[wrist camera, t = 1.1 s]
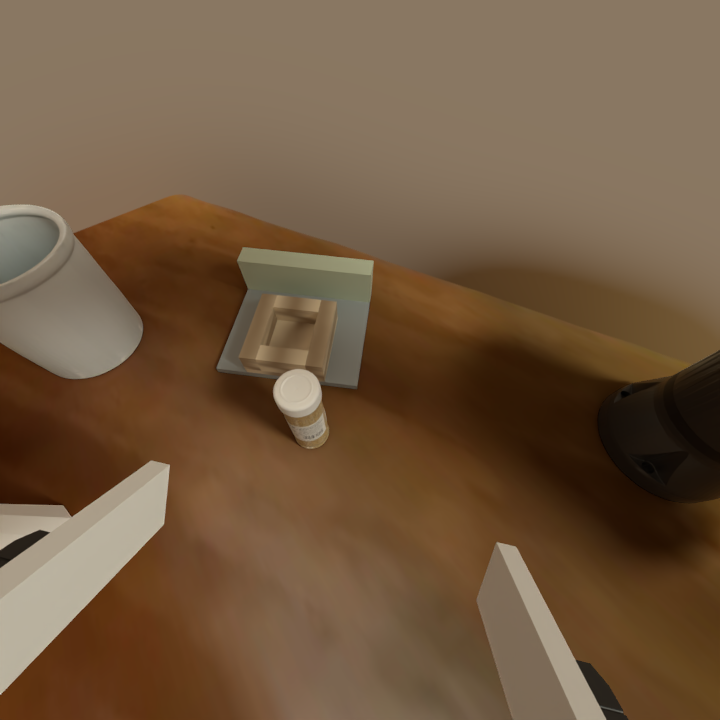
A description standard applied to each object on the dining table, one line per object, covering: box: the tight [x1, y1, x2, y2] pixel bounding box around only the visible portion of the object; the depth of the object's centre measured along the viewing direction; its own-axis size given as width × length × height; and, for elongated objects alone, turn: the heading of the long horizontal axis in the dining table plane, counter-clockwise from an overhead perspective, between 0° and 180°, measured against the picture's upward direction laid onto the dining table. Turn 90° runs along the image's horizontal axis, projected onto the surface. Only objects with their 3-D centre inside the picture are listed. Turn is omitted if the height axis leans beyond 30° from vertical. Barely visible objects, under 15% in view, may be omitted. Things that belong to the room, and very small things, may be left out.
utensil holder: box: [0, 205, 143, 379], centre depth 42 cm, size 15×15×18 cm
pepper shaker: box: [0, 504, 71, 550], centre depth 32 cm, size 5×5×11 cm
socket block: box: [239, 293, 338, 382], centre depth 47 cm, size 11×11×4 cm
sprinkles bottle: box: [273, 369, 329, 449], centre depth 37 cm, size 5×5×13 cm
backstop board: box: [216, 247, 373, 389], centre depth 48 cm, size 20×18×7 cm
